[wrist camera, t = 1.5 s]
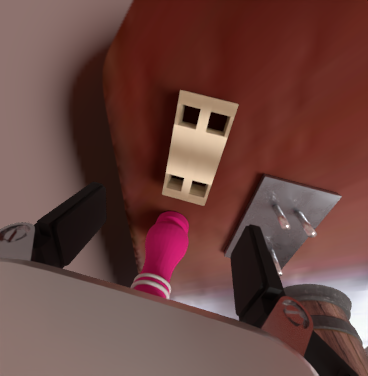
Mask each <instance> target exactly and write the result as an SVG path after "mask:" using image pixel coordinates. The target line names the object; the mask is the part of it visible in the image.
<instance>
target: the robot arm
mask: <svg viewBox="0 0 368 376" xmlns="http://www.w3.org/2000/svg"><path fill="white" fill-rule="evenodd" d="M105 222H106V189H105V187H104V186H103V184H100V183H96V182H92V183H90V184H89V185H87V186H86V187H85V188H83V189H82V190H81V191H79V192H78V193H76V194H75V195H74V196H72V197H70V198H69V199H68V200H66V201H65V202H63V203H62V204H61V205H59V206H58V207H56V208H55V209H53V210H52V211H51V212H49V213H48V214H46V215H45V216H43V217H42V218H41V219H39V220H38V221H37V223H36V224H35V225H33V224H30V223H26V222H21V223H15V224H10V225H8V226H5V227H3V228H2V229H0V376H359V375H358V374H357V373H356V372H355V371H354V370H353V369H352V368H351V367H350V366H349V365H348V364H347V363H346V362H345V361H344V360H343V359H342V358H341V357H340V356H339V355H338V354H337V353H336V352H335V351H334V350H333V349H332V348H331V347H330V346H329V345H328V344H327V343H326V342H325V341H324V340H323V339H322V338H321V337H320V336H319V335H318V334H317V333H316V332H315V331H314V330H313V321H312V318H311V316H310V314H309V313H308V311H307V310H306V308H305V307H304V306H303V305H302V304H301V303H299V302H298V301H297V300H295V299H293V298H291V297H288V296H286V294H285V292H284V289H283V286H282V283H281V280H280V278H279V275H278V272H277V269H276V266H275V264H274V261H273V258H272V255H271V253H270V252H269V251H268V248H267V245H266V242H265V239H264V236H263V233H262V230H261V228H260V227H259V226H256V225H252V224H250V225H249V226H246V227H245V229H244V230H243V232H242V234H241V236H240V238H239V240H238V242H237V244H236V246H235V247H234V249H233V251H232V253H231V268H232V278H233V289H234V299H235V309H236V315H237V316H239V321H238V320H235V319H232V318H229V317H225V316H222V315H219V314H216V313H213V312H209V311H206V310H203V309H199V308H196V307H193V306H189V305H186V304H183V303H179V302H176V301H172V300H169V299H166V298H162V297H159V296H155V295H152V294H149V293H145V292H142V291H138V290H135V289H131V288H128V287H124V286H121V285H118V284H114V283H111V282H107V281H104V280H100V279H97V278H93V277H90V276H86V275H82V274H79V273H76V272H72V271H69V270H65V269H62V268H63V267H64V266H67V265H69V264H70V263H71V261H72V260H73V259H74V258H75V257H76V256H77V254H78V253H79V252H80V251H81V250H82V249H83V248H84V246H85V245H86V244H87V243H88V242H89V241H90V239H91V238H92V237H93V236H94V235H95V234H96V233H97V231H98V230H99V229H100V228H101V227H102V226H103V224H104V223H105Z"/></svg>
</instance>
